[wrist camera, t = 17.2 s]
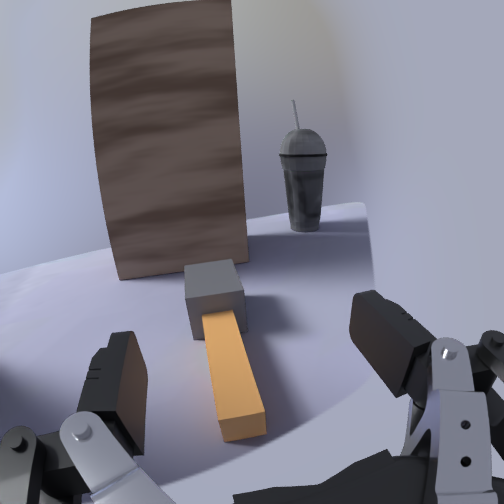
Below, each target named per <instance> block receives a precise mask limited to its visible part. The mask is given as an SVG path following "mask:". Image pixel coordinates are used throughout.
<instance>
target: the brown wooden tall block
mask: <svg viewBox="0 0 504 504" xmlns="http://www.w3.org/2000/svg"><path fill="white" fill-rule="evenodd" d="M90 95H91V96H90V97H91V114H92V128H93V139H94V148H95V157H96V165H97V172H98V179H99V185H100V192H101V197H102V204H103V209H104V214H105V220H106V225H107V229H108V234H109V239H110V243H111V248H112V252H113V257H114V261H115V265H116V269H117V273H118V276H119V280H125V279H132V278H140V277H147V276H154V275H161V274H168V273H175V272H182V271H184V266H185V265H192V264H199V263H206V262H213V261H220V260H227V259H232V261H233V263H234V264H238V263H245V262H249V253H248V239H247V225H246V213H245V200H244V185H243V170H242V155H241V141H240V127H239V112H238V99H237V83H236V68H235V53H234V39H233V23H232V7H231V0H196V1H184V2H173V3H165V4H158V5H151V6H145V7H139V8H134V9H128V10H123V11H119V12H114V13H110V14H106V15H103V16H98V17H95V18H91V33H90Z"/></svg>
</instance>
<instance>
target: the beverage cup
mask: <svg viewBox="0 0 504 504" xmlns="http://www.w3.org/2000/svg"><path fill="white" fill-rule="evenodd" d="M291 103H292V108H293V114H294V119H295V125H296V129H295V130H293V131H291V132H289V133H288V134H287V135H286V136H285V138H284V139H283V141H282V144H281V148H280V154H279V156H280V157H281V164H282V168H283V170H284V178H285V186H286V195H287V203H288V212H289V219H290V224H291V229H292V230H294V231H298V232H311V231H315V230H317V229H318V228H319V221H320V215H321V203H322V191H323V178H324V168H325V164H326V156H327V153H326V148H325V144H324V142H323V140H322V139H321V137H320V136H319V135H318V134H317V133H316V132H314V131H312V130H310V129H299V123H298V117H297V112H296V107H295V101H294V100H291Z"/></svg>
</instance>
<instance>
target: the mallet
mask: <svg viewBox="0 0 504 504" xmlns="http://www.w3.org/2000/svg"><path fill="white" fill-rule="evenodd" d="M184 277H185V300H186V305H187V310H188V315H189V320H190V325H191V329H192V334H193V338H194V340H199V339H205V342H206V349H207V356H208V362H209V369H210V375H211V381H212V387H213V393H214V399H215V405H216V410H217V416H218V421H219V425H220V428H221V432H222V436H223V439H224V442H229V441H235V440H240V439H246V438H251V437H256V436H261V435H265V434H267V433H266V416H265V409H264V406H263V403H262V400H261V397H260V394H259V391H258V388H257V385H256V382H255V379H254V376H253V373H252V370H251V367H250V364H249V361H248V357H247V354H246V351H245V348H244V345H243V342H242V338H241V335H240V333H243V332H248V328H247V317H246V306H245V295H244V288H243V286H242V283H241V281H240V278H239V276H238V273H237V271H236V268H235V266H234V263H233V261H232V259H227V260H220V261H213V262H206V263H199V264H192V265H185V266H184Z"/></svg>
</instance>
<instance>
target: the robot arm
mask: <svg viewBox="0 0 504 504" xmlns="http://www.w3.org/2000/svg"><path fill="white" fill-rule="evenodd" d="M349 332H350V337H351V339H352V341H353V343H354V344H355V346H356V347H357V348H358V349H359V351H360V352H361V353H362V354H363V356H364V357H365V358H366V360H367V361H368V362H369V363H370V365H371V366H372V367H373V369H374V370H375V371H376V373H377V374H378V375H379V376H380V378H381V379H382V380H383V382H384V383H385V384H386V386H387V387H388V388H389V389H390V391H391V392H392V393H393V395H394V396H395V397H396V398H398V397H400V396H402V395H404V394H407V393H408V394H409V396H410V397H411V400H410V402H409V412H408V421H407V430H406V437H405V443H404V447H403V450H402V452H401V454H400V456H393V457H392V456H391V454H390V453H389V451H388V450H387V449H386V450H383V451H381V452H379V453H377V454H375V455H372V456H370V457H367V458H365V459H362V460H360V461H357V462H355V463H353V464H351V465H350V466H349V467H347V468H345V469H344V470H342V471H341V472H339V473H338V474H336V475H334V476H333V477H331V478H330V479H328V480H326V481H324V482H323V483H321V484H318V485H308V486H292V487H272V488H268V489H263V490H258V491H253V492H247V493H241V494H235V495H233V499H234V504H504V479H502V478H497V477H493V476H492V463H491V444H492V445H493V447H494V448H495V449H496V451H497V452H498V453H499V455H500V456H501V458H502V459H503V460H504V400H503V399H501V397H500V396H499V395H498V394H497V393H496V391H495V390H494V389H493V388H492V385H493V383H494V381H495V380H496V378H497V376H498V377H499V378H500V379H501V380H502V381H503V382H504V334H503V333H501V332H498V331H494V330H493V331H492V330H490V331H486V332H484V333H483V335H482V337H481V339H480V342H479V344H478V345H472V346H465V345H463V344H462V343H461V342H460V341H458V340H456V339H453V338H439V339H436V338H435V337H434V336H433V335H432V334H431V333H430V332H429V331H428V330H426V329H425V328H424V327H423V326H422V325H421V324H420V323H419V322H418V321H416V320H415V319H413V317H412V316H411V315H410V314H409V313H407V312H406V311H405V310H404V309H403V308H402V307H401V306H400V305H398V304H396V303H394V302H392V301H390V300H387V299H384V298H383V297H382V296H381V295H380V294H379V293H378V292H376V291H375V290H369V291H365V292H361V293H356V294H355V295H354V297H353V302H352V310H351V318H350V325H349ZM147 385H148V375H147V369H146V365H145V362H144V359H143V356H142V353H141V351H140V348H139V345H138V342H137V339H136V336H135V334H134V332H133V331H126V332H116V333H112V334H111V336H110V339H109V343H108V346H107V348H100V349H99V350H98V352H97V353H96V354H95V355H94V356H93V357H92V360H91V363H90V366H89V371H88V372H87V376H86V380H85V382H84V386H83V389H82V393H81V397H80V400H79V404H78V408H77V412H76V413H74V414H72V415H70V416H69V417H68V418H66V419H65V421H64V422H63V423H62V425H61V427H60V431H57V432H53V433H49V434H44V435H40V436H36V434H35V433H34V432H33V431H32V430H31V429H30V428H28V427H26V426H16V427H14V428H12V429H10V430H9V431H8V432H6V434H5V435H4V437H3V438H2V441H1V444H0V504H81V502H82V494H84V493H89V492H92V494H90V497H91V499H92V501H93V502H94V504H176V503H175V502H174V501H173V500H172V499H170V497H169V496H167V494H165V492H163V491H162V490H161V488H160V487H159V486H158V485H157V484H156V483H155V482H154V481H153V480H152V479H151V478H150V477H149V476H148V475H147V474H146V473H145V472H144V471H143V470H142V468H141V467H140V466H138V465H137V464H136V463H135V462H134V460H133V456H138V455H144V438H145V415H146V398H147Z"/></svg>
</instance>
